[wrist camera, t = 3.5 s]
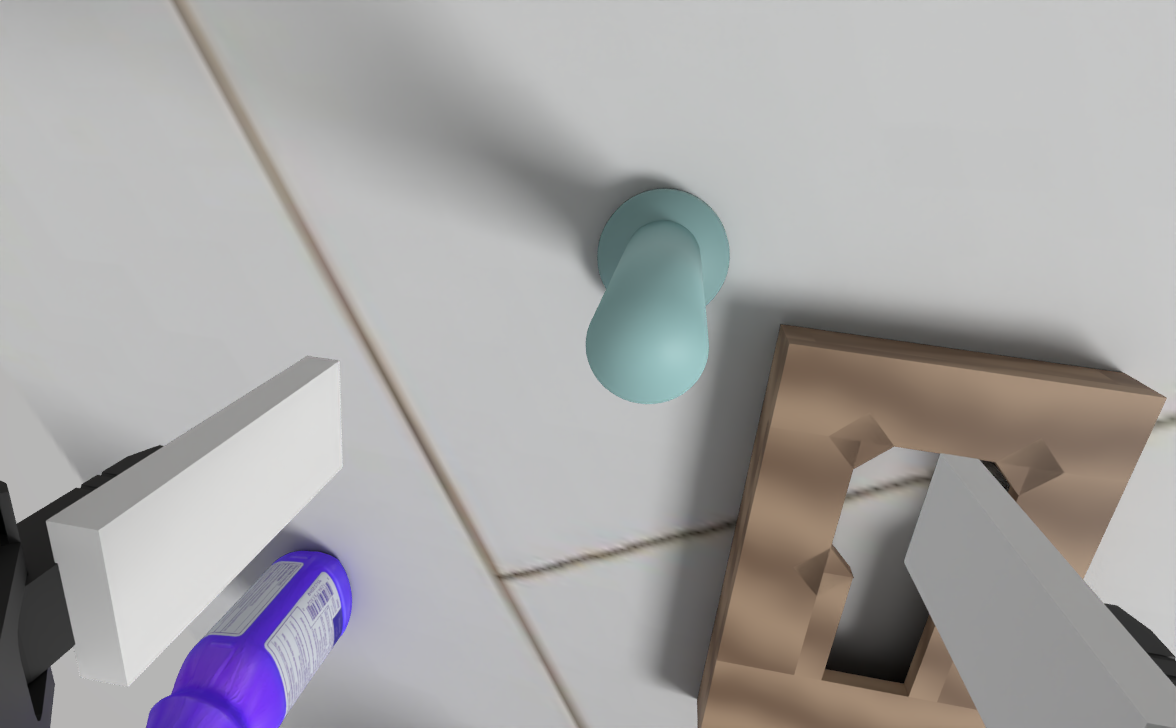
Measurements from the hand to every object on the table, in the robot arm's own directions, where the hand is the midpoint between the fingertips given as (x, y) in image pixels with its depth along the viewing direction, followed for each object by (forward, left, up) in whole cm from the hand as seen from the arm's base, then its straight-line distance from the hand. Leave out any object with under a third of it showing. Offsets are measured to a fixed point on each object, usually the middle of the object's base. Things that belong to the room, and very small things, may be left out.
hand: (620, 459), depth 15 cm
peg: (0, 0, -24) cm, 24 cm away
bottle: (+27, -21, -24) cm, 42 cm away
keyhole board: (+17, +16, -24) cm, 33 cm away
